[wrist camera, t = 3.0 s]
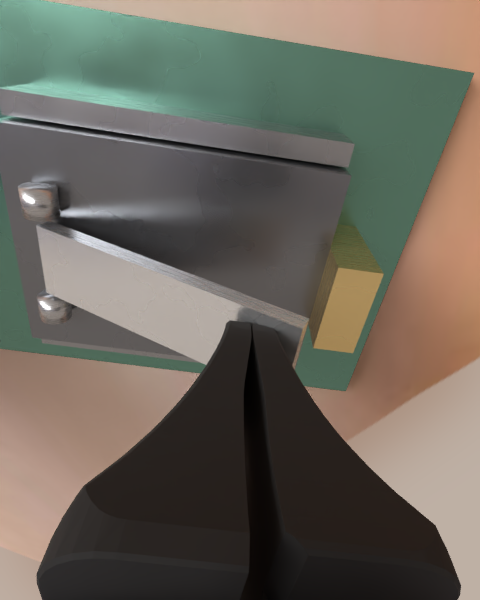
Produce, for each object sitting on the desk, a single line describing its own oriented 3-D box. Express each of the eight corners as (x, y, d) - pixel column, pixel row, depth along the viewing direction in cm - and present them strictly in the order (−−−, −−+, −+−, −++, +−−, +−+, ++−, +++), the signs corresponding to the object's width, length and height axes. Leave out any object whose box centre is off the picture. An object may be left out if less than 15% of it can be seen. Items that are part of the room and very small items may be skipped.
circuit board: (-1, 338, 22) (-63, 407, 18) (-91, -22, 13) (-253, -56, 9) (343, 381, 23) (363, 456, 19) (464, 71, 14) (553, 80, 10)
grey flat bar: (58, 286, 16) (46, 292, 15) (50, 220, 14) (36, 225, 14) (289, 388, 13) (282, 400, 12) (309, 318, 11) (302, 328, 11)
